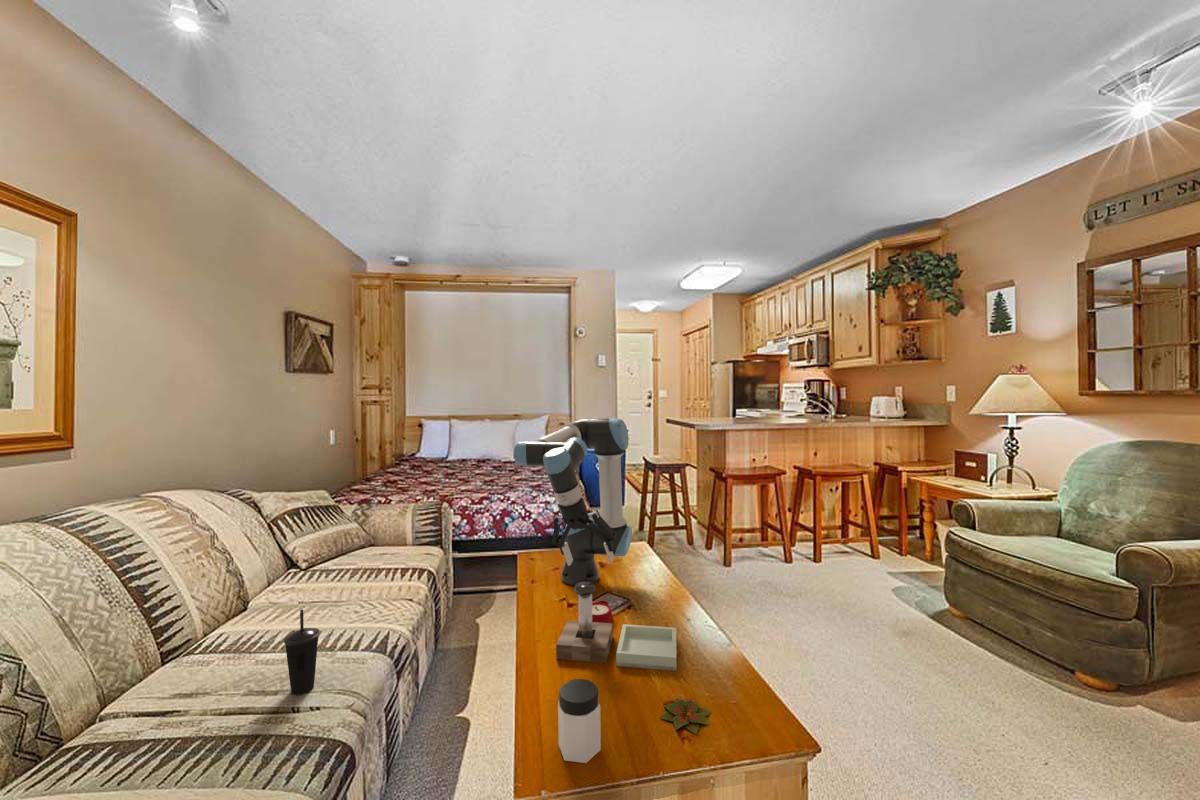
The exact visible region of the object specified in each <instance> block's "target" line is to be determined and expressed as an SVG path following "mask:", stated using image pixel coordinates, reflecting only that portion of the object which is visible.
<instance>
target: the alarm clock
mask: <svg viewBox="0 0 1200 800" xmlns="http://www.w3.org/2000/svg"><path fill="white" fill-rule="evenodd" d="M592 622H599V623H612V622H614V617H613V614H612V607H611V605H609V602H608V601H607V600H605V599H601V600H599V601H596V602H595V601H592Z"/></svg>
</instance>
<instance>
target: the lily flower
mask: <svg viewBox="0 0 1200 800" xmlns="http://www.w3.org/2000/svg"><path fill="white" fill-rule="evenodd" d="M687 697H689V694H688V695H687ZM695 698H696V697H695V696H694V697H693V698H692V699H691V698H686V700H685V697H684V696H682V697H681V695H679V697H677V696H676V697H675V700H674V701H673V702H671V703H667V704H663V707H664V708H665V709H667V710H668V711H665V712H664V713H663V714H662V716H660V717H659V719H662V720H666V721H670V722H673V726H674V731H677V730H679V729H680V728H682V727H684V728H686V729H687V730H688V731H690V732H692V733H693V734H694V735H696V736H697V733H698V731H699V726H700V724H702V725H707V726H709V727H711V724H710V723H709V721H708V720H707V718H706V717H708V715H710V714H711V713H712V712H713V711H711V710H709V709H707V708H703V707H699V703H698V702H697V701H695V700H694V699H695ZM690 699H691V700H690ZM693 700H694V701H693ZM688 713H689V714H690V716H691V718H687V719H683V717H682V714H683V715H684V717H688ZM690 722H691V723H693V725H692V726H690V725H689V723H690Z"/></svg>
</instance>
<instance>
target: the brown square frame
mask: <svg viewBox="0 0 1200 800" xmlns="http://www.w3.org/2000/svg"><path fill="white" fill-rule="evenodd" d="M592 628H593V639H588V638H579V620H567V621H566V624H565V625H564V627H563V630H562V631H561V634H560V636H559V637H558V640H557V642H556V643H555V644H556V647H555V651H556V653H555V655H556V656H555V657H556V659H557V660H564V661H565V660H567V661H575V662H576V661H577V662H579V661H580V662H591V663H604V664H606V663H607V662H606V661H608V658H607V657H609V654H610V649H611V646H612V643H613V642H612V641H613V637H614V629H613V628H614V624H613V623H599V622H592Z"/></svg>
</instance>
